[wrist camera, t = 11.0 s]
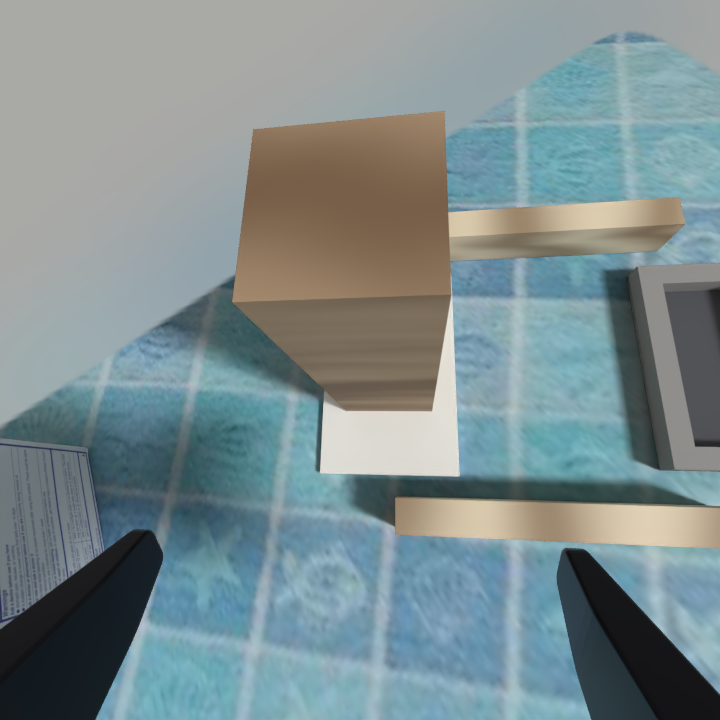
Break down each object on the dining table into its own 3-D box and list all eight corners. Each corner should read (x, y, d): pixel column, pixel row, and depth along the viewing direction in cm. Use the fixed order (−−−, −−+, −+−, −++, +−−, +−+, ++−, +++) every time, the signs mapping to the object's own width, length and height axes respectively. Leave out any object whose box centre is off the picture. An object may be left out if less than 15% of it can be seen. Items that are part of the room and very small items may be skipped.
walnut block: (432, 411, 21) (451, 294, 8) (346, 410, 22) (232, 302, 9) (430, 329, 23) (444, 111, 9) (348, 331, 23) (253, 129, 10)
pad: (450, 276, 24) (451, 274, 23) (458, 476, 21) (459, 476, 20) (330, 281, 25) (329, 279, 24) (321, 473, 22) (319, 473, 21)
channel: (652, 227, 23) (679, 197, 20) (715, 541, 18) (759, 550, 16) (397, 241, 25) (395, 215, 22) (398, 528, 20) (395, 534, 18)
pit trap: (741, 272, 21) (758, 261, 20) (793, 472, 19) (817, 472, 17) (626, 277, 22) (637, 266, 21) (659, 470, 19) (674, 469, 18)
